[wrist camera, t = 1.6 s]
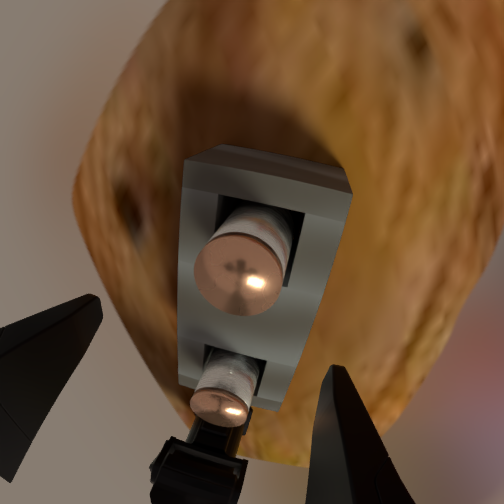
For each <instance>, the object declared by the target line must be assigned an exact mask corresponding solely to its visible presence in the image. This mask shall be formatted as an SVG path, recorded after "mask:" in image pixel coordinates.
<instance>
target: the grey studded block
mask: <svg viewBox="0 0 504 504" xmlns="http://www.w3.org/2000/svg"><path fill="white" fill-rule="evenodd" d="M352 196H353V193H352V190H351V187H350V184H349V182H348V179H347V176H346V173H345V171H344V169H342V168H338V167H334V166H330V165H326V164H322V163H318V162H313V161H309V160H304V159H300V158H295V157H291V156H286V155H281V154H276V153H271V152H266V151H260V150H255V149H249V148H244V147H238V146H232V145H226V144H221V145H218V146H216V147H213V148H211V149H208V150H206V151H204V152H201V153H199V154H196V155H194V156H192V157H189V158H187V159H185V160H184V169H183V181H182V195H181V211H180V229H179V252H178V293H177V339H178V378H179V384H180V385H183V386H186V387H189V388H192V389H195V390H196V387H197V385H198V383H199V381H200V379H201V376H202V374H203V372H204V370H205V367H206V365H207V363H208V361H209V359H210V356H211V354H212V352H213V350H214V347H218V348H221V349H225V350H228V351H232V352H236V353H239V354H243V355H247V356H251V357H255V358H259V359H263V361H262V365H261V368H260V372H259V376H258V379H257V383H256V387H255V390H254V394H253V397H252V401H251V404H250V405H251V406H255V407H259V408H263V409H267V410H272V411H276V412H278V411H279V409H280V406H281V404H282V402H283V399H284V397H285V394H286V392H287V390H288V387H289V385H290V382H291V380H292V377H293V375H294V372H295V370H296V367H297V365H298V362H299V359H300V357H301V354H302V352H303V349H304V346H305V344H306V341H307V338H308V336H309V333H310V330H311V327H312V324H313V322H314V319H315V316H316V313H317V310H318V307H319V305H320V302H321V299H322V296H323V293H324V290H325V287H326V284H327V281H328V278H329V274H330V271H331V268H332V265H333V262H334V259H335V255H336V252H337V249H338V246H339V242H340V239H341V236H342V232H343V229H344V225H345V222H346V218H347V215H348V211H349V207H350V204H351V200H352ZM242 199H245V200H250V201H254V202H259V203H263V204H268V205H273V206H277V207H282V208H286V209H290V210H295V211H299V212H303V218H302V222H301V226H300V230H299V235H298V239H297V240H293V241H292V246H291V250H290V254H289V258H288V263H287V267H286V271H285V275H284V279H283V283H282V288H281V291H280V294H279V297H278V299H277V300H276V302H275V303H274V304H273V305H272V306H271V307H270V308H269V309H267V310H266V311H264V312H262V313H259V314H256V315H251V316H237V315H232V314H229V313H226V312H223V311H221V310H219V309H218V308H216V307H214V306H213V305H212V304H210V303H209V302H208V301H207V300H206V299H205V298H204V297H203V295H202V294H201V293H200V291H199V289H198V287H197V285H196V282H195V278H194V264H195V260H196V258H197V256H198V254H199V253H200V251H201V250H202V249H203V247H204V246H205V245H206V244H207V242H208V241H209V240H210V239H211V237H212V236H213V235H214V234H215V233H216V231H217V230H218V229H219V228H220V226H221V225H222V224H223V223H224V221H225V220H226V219H227V218H228V217H229V215H230V214H231V213H232V212H233V210H234V209H235V208H236V207H237V206H238V205H239V204H240V203H241V202H242Z"/></svg>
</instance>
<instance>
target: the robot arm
mask: <svg viewBox="0 0 504 504" xmlns="http://www.w3.org/2000/svg"><path fill="white" fill-rule="evenodd" d="M102 319H103V312H102V307H101V301H100V298H99V297H97V296H95V295H93V294H86V295H83V296H81V297H78V298H75V299H73V300H70V301H68V302H65V303H62V304H60V305H57V306H55V307H52V308H50V309H47V310H45V311H42V312H40V313H37V314H34V315H32V316H29V317H27V318H24V319H22V320H20V321H17V322H14V323H12V324H9V325H7V326H5V327H2V328H0V476H1V477H2V478H3V479H5V480H6V481H8V482H9V483H11V482H12V480H13V478H14V476H15V474H16V472H17V470H18V468H19V466H20V464H21V462H22V460H23V458H24V456H25V454H26V452H27V451H28V449H29V447H30V445H31V443H32V441H33V439H34V438H35V436H36V434H37V432H38V430H39V429H40V427H41V425H42V423H43V421H44V420H45V418H46V416H47V415H48V412H49V411H50V409H51V408H52V406H53V404H54V402H55V401H56V399H57V397H58V396H59V394H60V393H61V391H62V389H63V388H64V386H65V384H66V383H67V381H68V380H69V378H70V377H71V375H72V373H73V372H74V370H75V369H76V367H77V365H78V364H79V362H80V361H81V359H82V358H83V356H84V354H85V353H86V351H87V349H88V347H89V345H90V343H91V341H92V339H93V337H94V335H95V333H96V331H97V330H98V328H99V326H100V324H101V322H102ZM252 412H253V410H252V409H251V408H249V411H248V415H247V418H246V421H245V422H244V423H243V424H242V425H240V426H237V427H222V426H218V425H214V424H212V423H209V422H207V421H205V420H203V419H202V418H200V417H199V416H197V415H196V418H195V420H194V423H193V425H192V427H191V430H190V432H189V434H188V437H187V439H186V442H184V441H182V440H179V439H176V437H173V436H171V438H170V439H169V440H166V442H165V444H164V446H163V448H162V450H161V452H160V453H159V454H158V456H157V457H156V458H155V460H154V461H153V462H152V463H151V464H150V467H149V469H150V471H151V481H150V482H151V483H152V484H153V487H152V489H151V492H150V498H151V503H152V504H237V502H238V499H239V496H240V493H241V490H242V486H243V482H244V477H245V473H246V468H247V464H248V460H245V459H243V460H242V459H238V458H235V457H236V453H237V450H238V447H239V443H240V440H241V437H242V435H245V434H246V431H247V428H248V425H249V422H250V419H251V415H252ZM388 456H389V455H388V452H387V451H386V448H385V446H384V444H383V442H382V440H381V438H380V436H379V434H378V432H377V430H376V428H375V426H374V424H373V422H372V420H371V418H370V416H369V414H368V412H367V410H366V407H365V405H364V403H363V401H362V400H361V398H360V396H359V394H358V392H357V390H356V388H355V386H354V384H353V382H352V380H351V378H350V376H349V374H348V372H347V370H346V368H345V367H344V366H340V365H335V364H333V365H331V366H330V368H329V370H328V372H327V374H326V376H325V378H324V379H323V382H322V385H321V390H320V395H319V401H318V406H317V411H316V416H315V421H314V426H313V434H312V445H311V456H310V467H309V476H308V477H309V478H308V486H307V494H306V503H305V504H416V503H415V502H414V500H413V499H412V498H411V496H410V494H409V493H408V491H407V489H406V487H405V485H404V484H403V482H402V480H401V479H400V477H399V475H398V473H397V471H396V469H395V467H394V465H393V463H392V461H391V458H390V457H388Z"/></svg>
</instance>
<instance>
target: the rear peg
mask: <svg viewBox="0 0 504 504" xmlns="http://www.w3.org/2000/svg"><path fill="white" fill-rule="evenodd" d="M262 361H263V359H259V358H255V357H251V356H247V355H243V354H239V353H236V352H232V351H228V350H225V349H221V348H218V347H214V350H213V352H212V354H211V356H210V359H209V361H208V363H207V365H206V367H205V370H204V372H203V374H202V376H201V379H200V381H199V383H198V385H197V387H196V390H195V392H194V394H193V396H192V398H191V401H190V406H191V409H192V410H193V412H194V413H195V414H196V415H197V416H199V417H200V418H202V419H203V420H205V421H207V422H209V423H212V424H214V425H218V426H222V427H237V426H240V425H242V424H243V423H244V422H245V421H246V418H247V415H248V411H249V408H250V404H251V401H252V397H253V394H254V390H255V387H256V383H257V379H258V376H259V372H260V368H261V365H262Z"/></svg>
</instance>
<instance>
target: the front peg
mask: <svg viewBox="0 0 504 504" xmlns="http://www.w3.org/2000/svg"><path fill="white" fill-rule="evenodd" d="M294 231H295V226H294V221H293V218H292V216H291V214H290V212H289V211H288V209H286V208H282V207H277V206H273V205H268V204H263V203H259V202H254V201H250V200H244V201H242V202H241V203H240V204H239V205H238V206H237V207H236V208H235V209H234V210H233V212H232V213H231V214H230V215H229V217H228V218H227V219H226V220H225V221H224V223H223V224H222V225H221V226H220V228H219V229H218V230H217V231H216V233H215V234H214V235H213V236H212V237H211V239H210V240H209V241H208V242H207V244H206V245H205V246H204V247H203V249H202V250H201V251H200V253H199V254H198V256H197V258H196V260H195V264H194V278H195V282H196V285H197V287H198V289H199V291H200V293H201V294H202V295H203V297H204V298H205V299H206V300H207V301H208V302H209V303H210V304H212V305H213V306H214V307H216V308H218V309H219V310H221V311H223V312H226V313H229V314H232V315H237V316H251V315H256V314H259V313H262V312H264V311H266V310H267V309H269V308H270V307H271V306H272V305H273V304H274V303H275V302H276V300H277V299H278V297H279V294H280V291H281V288H282V283H283V279H284V275H285V271H286V267H287V263H288V258H289V254H290V250H291V246H292V241H293V237H294Z"/></svg>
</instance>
